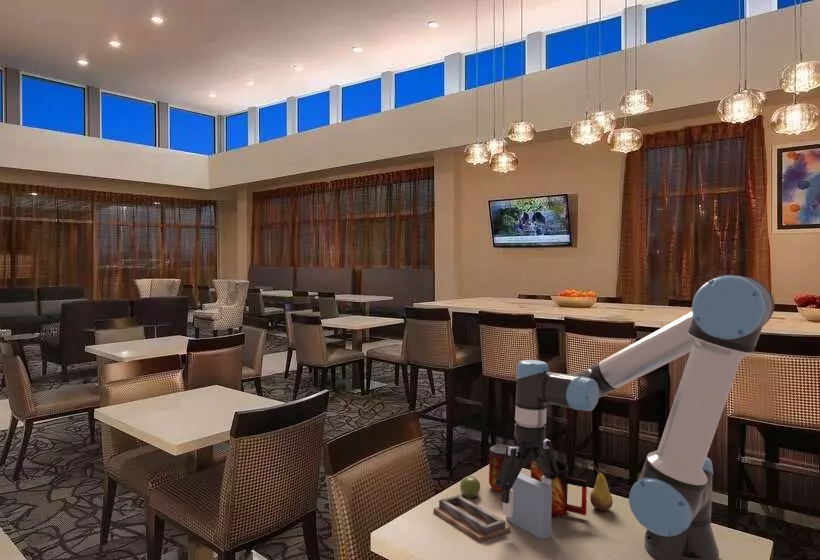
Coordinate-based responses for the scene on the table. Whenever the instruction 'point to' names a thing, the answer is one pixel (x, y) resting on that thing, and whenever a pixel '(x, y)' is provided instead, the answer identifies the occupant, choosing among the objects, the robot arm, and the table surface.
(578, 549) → the table surface
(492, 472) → the soda can
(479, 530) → the track base
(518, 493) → the door panel
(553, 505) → the mug
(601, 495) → the fruit
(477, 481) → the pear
